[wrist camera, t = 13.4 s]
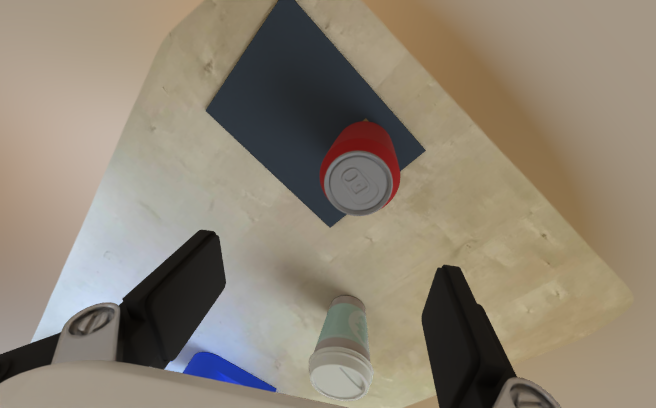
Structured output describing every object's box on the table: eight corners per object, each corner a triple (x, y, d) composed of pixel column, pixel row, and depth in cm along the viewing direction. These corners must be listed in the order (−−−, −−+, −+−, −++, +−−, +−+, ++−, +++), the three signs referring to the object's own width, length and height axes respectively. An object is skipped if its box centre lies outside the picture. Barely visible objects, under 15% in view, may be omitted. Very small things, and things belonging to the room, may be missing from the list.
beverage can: (357, 186, 33) (348, 236, 22) (324, 143, 31) (298, 176, 20) (404, 155, 30) (420, 195, 19) (370, 107, 28) (368, 122, 18)
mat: (207, 110, 32) (204, 110, 32) (286, -9, 26) (284, -11, 25) (330, 226, 37) (329, 228, 36) (425, 149, 30) (426, 150, 30)
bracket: (189, 367, 59) (164, 404, 52) (197, 346, 55) (171, 383, 48) (266, 402, 60) (252, 443, 53) (279, 384, 56) (266, 426, 49)
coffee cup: (373, 328, 44) (373, 408, 33) (324, 324, 45) (309, 398, 35) (373, 290, 40) (373, 366, 30) (320, 287, 42) (302, 357, 31)
